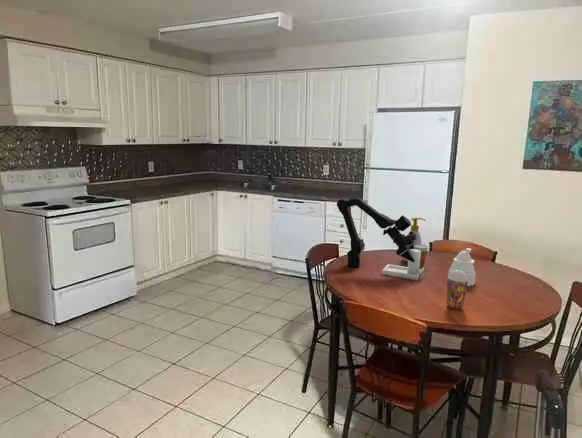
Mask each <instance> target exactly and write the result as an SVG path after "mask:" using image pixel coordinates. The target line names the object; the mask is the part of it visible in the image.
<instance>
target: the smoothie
mask: <svg viewBox="0 0 582 438" xmlns="http://www.w3.org/2000/svg"><path fill="white" fill-rule="evenodd" d="M446 280H447V283H446V287H447V288H446V305H447V308H449V309H450V310H453V311H460V310H462V308H463V307H464V303H465V298H466V292H467V287H468V286H467V283H468V278H467V276H466V274H465V272H463V271H462V270H460V264H458V269H457V270H453V271H452V272H451V273H450V274H449V273H448V274H447V279H446Z"/></svg>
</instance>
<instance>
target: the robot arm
mask: <svg viewBox="0 0 582 438" xmlns="http://www.w3.org/2000/svg"><path fill="white" fill-rule="evenodd" d="M336 206H337V209H338V211H339V212H340V214H341V215H342V216H343V220H344V222H345V226H346V229H347V232H348V235H349V238H350V250H349V251H348V252H347V253H346V254H347V255H346V256H347V265H346V267H348V268H353V269H354V268H355V269H358V268H359V267H360V266H361V265H362V264H361V262H362V261H361V260H362V258H361V255H362V254H361V253H362V252H364V251H365V246H366V244H365V242H364V239H363V238H360V237H359V235H358V232H357V228H356V225H355V222H354V218H353V215H352V207H355V206H356V207H358V208H359V209H360V210H362V211H363V213H365V214H367V215H368V216H369V217H371V218H372V219H373V220H374V222H375V224H376V225H377V226H378V227H379V228H381V229H383V233H382V235H383V236H385V235H387V236H388V237H390V239H391V240H392V243H393V244H395V245H396V246H397V250H395V254H396V255H397V256H399V257H402V259H403V258H406V259H408V260H410V261H411V262H415V260H414V259H413V257H412V255H411V254H410V249H414V244H415V243H414V240H416V239H417V237H416V234H415V233H414V232H413V231H412V232H410V231H408V233H409V235H408V234H406V235H405V234H404V233H403V234H402V233H401V231H402V232H404V231H406V230H407V229H408V228H409V227H411V225H412V222H411V220H410V219H409V218H407V217H406V216H404V215H403V214H402V215H401V216H400V217H399V218H398V219H397V220H395V219H392V218H390V217H389V216H387V215H385V214H384V213H381V212H378V210H376V209H375V208H373V206H370V205H369V204H368V203H367V202H365V201H364V200H363V199H362V198H361V197H357V198H347V197H344V198H341V199H339V200H337V202H336ZM392 226H393V227H392ZM386 228H387V229H386ZM412 243H414V244H412Z"/></svg>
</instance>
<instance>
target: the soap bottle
mask: <svg viewBox="0 0 582 438" xmlns="http://www.w3.org/2000/svg"><path fill="white" fill-rule="evenodd" d="M418 220H422V221H424V222H426V219H424V218H422V217H412V218H411V219H410V221H413V224H411V226H410V231H409V232H412V231H413V232H414V233H415V234H416V237H417V239H416V240H414V243H415V244H422V237H421V233H420V231H419V229H420V226H419V225H418ZM409 232H408V234H407V235H409ZM414 243H412V244H414ZM402 262H405V263H407V264H408V259H406V258H403V257H402Z"/></svg>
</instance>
